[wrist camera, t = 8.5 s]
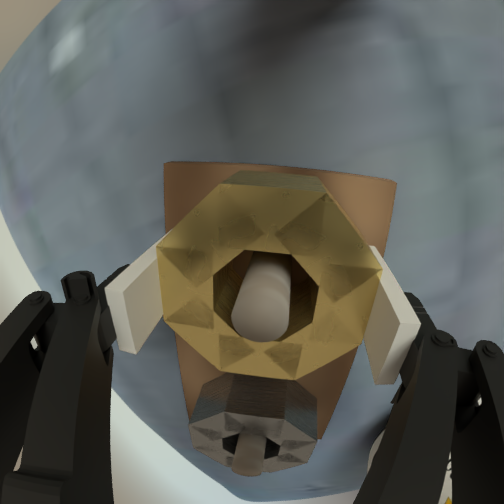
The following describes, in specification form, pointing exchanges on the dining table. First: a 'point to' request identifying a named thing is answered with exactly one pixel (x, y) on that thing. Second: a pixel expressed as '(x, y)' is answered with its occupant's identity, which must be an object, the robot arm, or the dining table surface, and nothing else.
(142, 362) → the dining table surface
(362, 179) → the gear board
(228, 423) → the steel gear
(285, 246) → the brass gear
